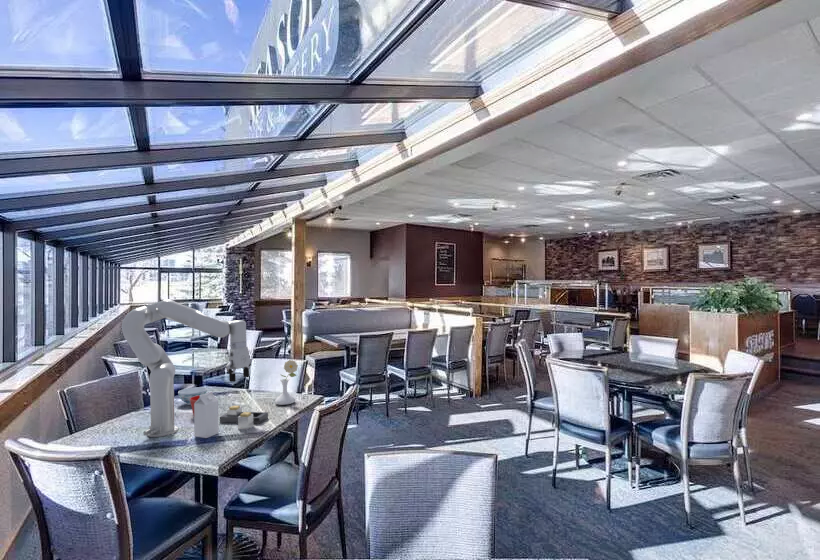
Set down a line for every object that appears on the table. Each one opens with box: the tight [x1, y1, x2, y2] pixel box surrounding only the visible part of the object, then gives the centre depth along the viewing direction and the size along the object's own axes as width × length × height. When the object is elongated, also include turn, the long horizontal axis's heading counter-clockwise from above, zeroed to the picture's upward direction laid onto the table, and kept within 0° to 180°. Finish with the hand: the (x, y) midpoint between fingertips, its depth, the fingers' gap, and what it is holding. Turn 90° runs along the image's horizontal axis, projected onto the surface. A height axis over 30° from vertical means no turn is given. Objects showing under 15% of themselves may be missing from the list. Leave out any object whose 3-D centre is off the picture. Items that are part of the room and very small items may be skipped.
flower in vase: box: [274, 359, 299, 406], centre depth 242 cm, size 13×11×25 cm
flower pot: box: [190, 395, 200, 417], centre depth 222 cm, size 11×11×10 cm
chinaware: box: [177, 386, 208, 406], centre depth 245 cm, size 15×15×8 cm
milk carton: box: [193, 391, 220, 439], centre depth 192 cm, size 7×7×19 cm
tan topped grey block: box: [226, 405, 243, 416], centre depth 213 cm, size 5×5×7 cm
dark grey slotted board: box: [219, 411, 269, 425], centre depth 212 cm, size 9×21×3 cm, turn 82°
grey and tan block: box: [237, 411, 254, 431], centre depth 201 cm, size 5×5×7 cm
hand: (239, 379), depth 210 cm, fingers open, 9 cm apart
